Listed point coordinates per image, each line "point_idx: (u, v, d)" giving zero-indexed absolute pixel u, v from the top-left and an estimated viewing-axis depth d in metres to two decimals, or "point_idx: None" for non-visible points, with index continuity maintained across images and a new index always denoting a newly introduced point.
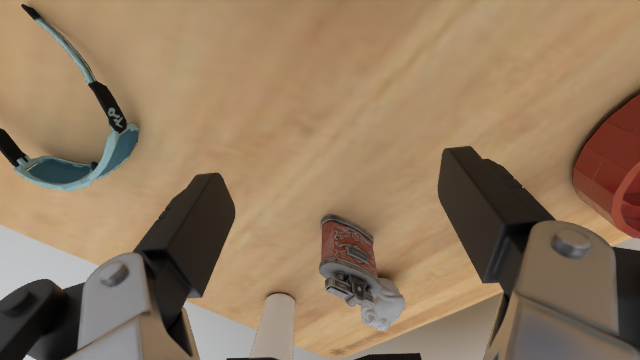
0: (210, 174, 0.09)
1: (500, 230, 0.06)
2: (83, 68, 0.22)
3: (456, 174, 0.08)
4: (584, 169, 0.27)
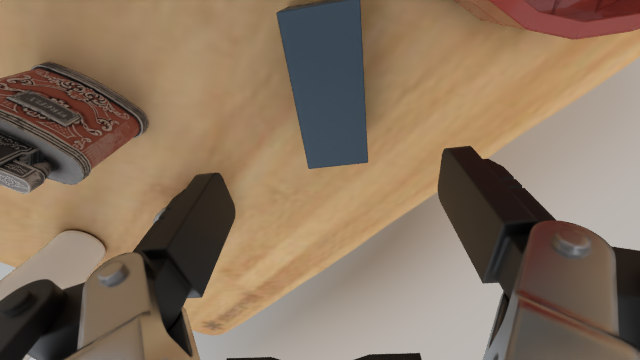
0: (210, 174, 0.09)
1: (500, 230, 0.06)
2: None
3: (456, 174, 0.08)
4: None
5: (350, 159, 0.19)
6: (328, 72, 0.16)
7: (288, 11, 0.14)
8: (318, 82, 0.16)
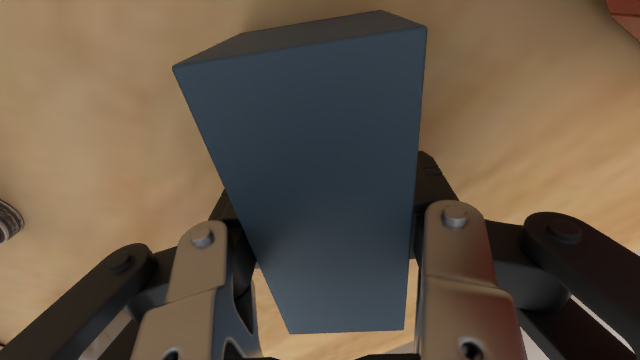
0: None
1: None
2: None
3: None
4: None
5: (369, 326, 0.10)
6: (327, 202, 0.06)
7: (205, 64, 0.05)
8: (302, 218, 0.07)
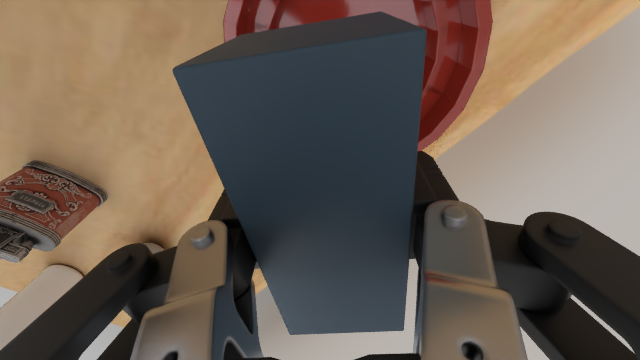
0: None
1: None
2: None
3: None
4: None
5: (369, 327, 0.10)
6: (326, 203, 0.06)
7: (205, 66, 0.05)
8: (302, 219, 0.07)
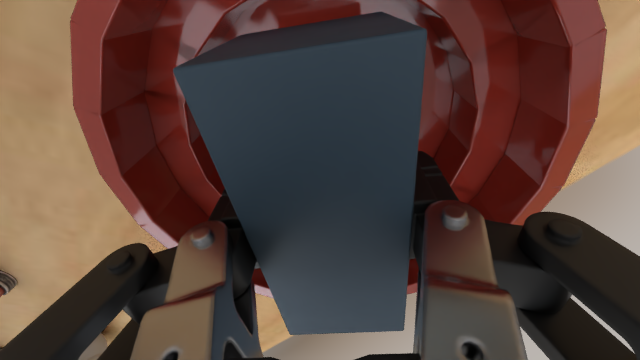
0: None
1: None
2: None
3: None
4: None
5: (369, 327, 0.10)
6: (326, 203, 0.06)
7: (206, 66, 0.05)
8: (302, 219, 0.07)
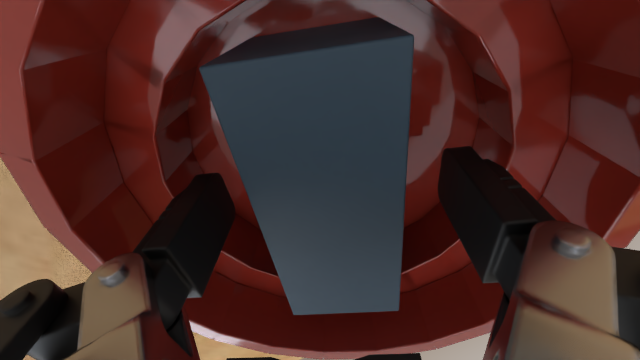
0: (210, 174, 0.09)
1: (500, 230, 0.06)
2: None
3: (456, 174, 0.08)
4: None
5: (367, 307, 0.11)
6: (328, 187, 0.07)
7: (227, 66, 0.05)
8: (306, 202, 0.07)
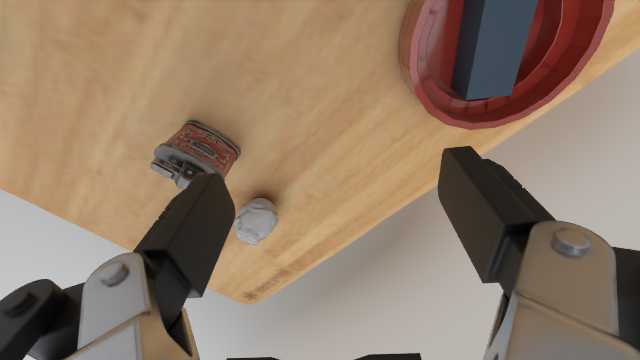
0: (210, 174, 0.09)
1: (500, 230, 0.06)
2: None
3: (456, 174, 0.08)
4: (400, 57, 0.28)
5: (499, 92, 0.27)
6: (507, 23, 0.23)
7: None
8: (498, 30, 0.24)
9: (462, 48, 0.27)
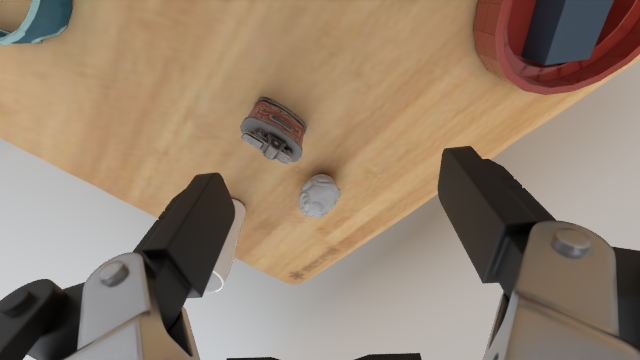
0: (210, 174, 0.09)
1: (500, 230, 0.06)
2: None
3: (456, 174, 0.08)
4: (479, 26, 0.29)
5: (578, 56, 0.28)
6: None
7: None
8: None
9: (541, 15, 0.28)
